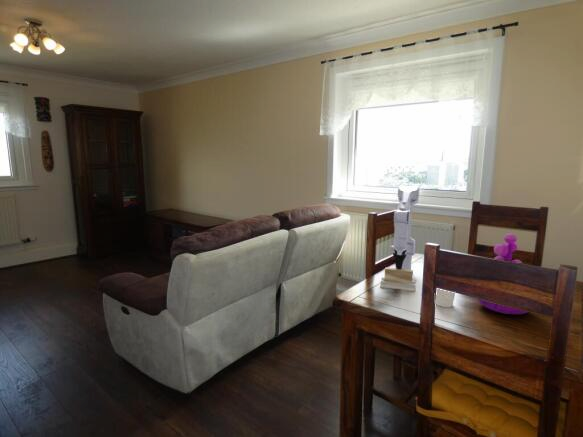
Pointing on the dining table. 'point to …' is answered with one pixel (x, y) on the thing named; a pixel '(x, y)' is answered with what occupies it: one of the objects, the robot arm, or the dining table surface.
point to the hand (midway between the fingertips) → (399, 266)
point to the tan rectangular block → (398, 275)
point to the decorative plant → (502, 251)
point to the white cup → (444, 298)
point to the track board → (398, 285)
